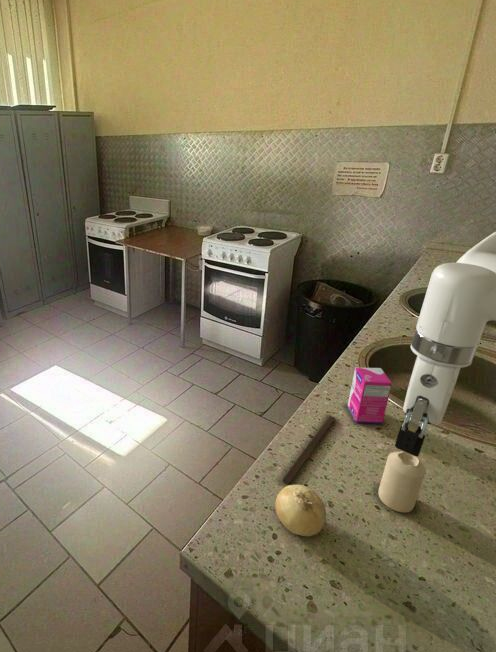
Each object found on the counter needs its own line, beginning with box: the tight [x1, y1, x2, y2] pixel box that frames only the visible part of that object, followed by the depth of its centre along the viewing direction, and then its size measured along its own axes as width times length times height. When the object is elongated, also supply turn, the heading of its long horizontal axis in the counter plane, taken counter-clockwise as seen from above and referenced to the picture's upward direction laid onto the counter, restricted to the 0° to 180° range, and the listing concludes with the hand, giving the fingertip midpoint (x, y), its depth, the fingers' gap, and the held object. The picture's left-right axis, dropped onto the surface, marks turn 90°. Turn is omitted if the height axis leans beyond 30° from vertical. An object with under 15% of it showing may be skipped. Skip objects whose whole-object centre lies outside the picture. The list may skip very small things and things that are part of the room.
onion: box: [274, 484, 327, 537], centre depth 66 cm, size 8×8×7 cm
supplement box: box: [347, 366, 393, 425], centre depth 89 cm, size 6×6×12 cm
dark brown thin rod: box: [282, 415, 336, 486], centre depth 83 cm, size 1×24×1 cm, turn 136°
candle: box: [378, 451, 427, 514], centre depth 69 cm, size 6×6×10 cm
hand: (413, 434), depth 65 cm, fingers open, 9 cm apart
